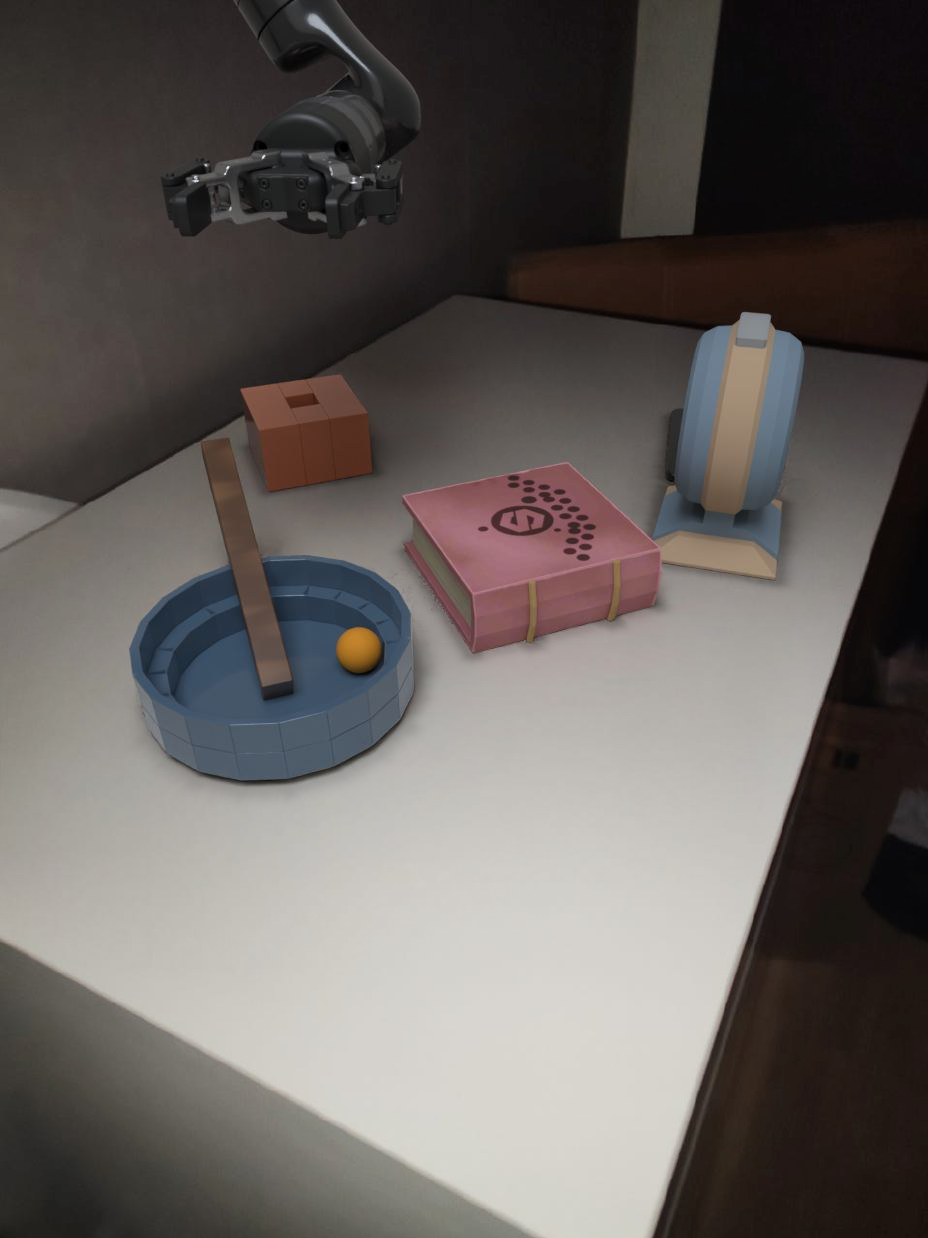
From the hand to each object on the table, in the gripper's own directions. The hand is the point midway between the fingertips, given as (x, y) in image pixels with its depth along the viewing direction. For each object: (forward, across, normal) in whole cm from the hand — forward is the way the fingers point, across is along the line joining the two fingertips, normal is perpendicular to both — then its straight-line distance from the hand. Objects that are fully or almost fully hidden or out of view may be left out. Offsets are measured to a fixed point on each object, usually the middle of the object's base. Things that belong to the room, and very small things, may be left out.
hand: (257, 218), depth 51 cm
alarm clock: (-14, +31, +27) cm, 44 cm away
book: (-5, +16, +27) cm, 32 cm away
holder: (-24, -5, +27) cm, 37 cm away
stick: (+10, 0, +26) cm, 28 cm away
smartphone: (-28, +32, +27) cm, 51 cm away
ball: (+7, +5, +25) cm, 26 cm away
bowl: (+9, 0, +27) cm, 28 cm away
